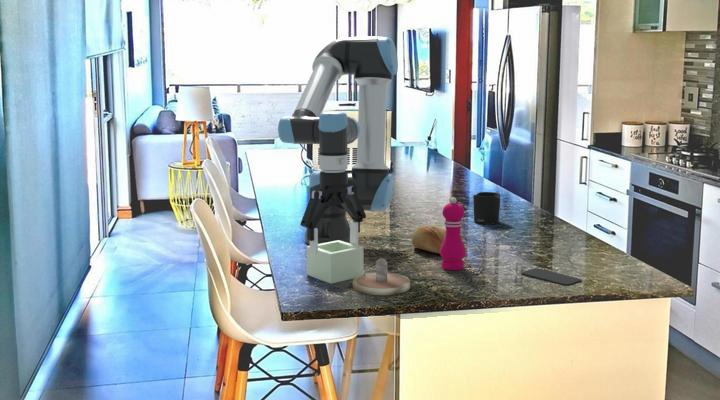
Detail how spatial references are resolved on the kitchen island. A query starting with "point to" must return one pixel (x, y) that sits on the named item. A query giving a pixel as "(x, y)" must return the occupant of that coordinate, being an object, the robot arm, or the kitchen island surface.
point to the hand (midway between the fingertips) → (334, 248)
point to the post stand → (381, 281)
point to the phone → (551, 276)
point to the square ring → (335, 261)
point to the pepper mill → (453, 237)
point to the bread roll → (429, 238)
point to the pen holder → (486, 207)
